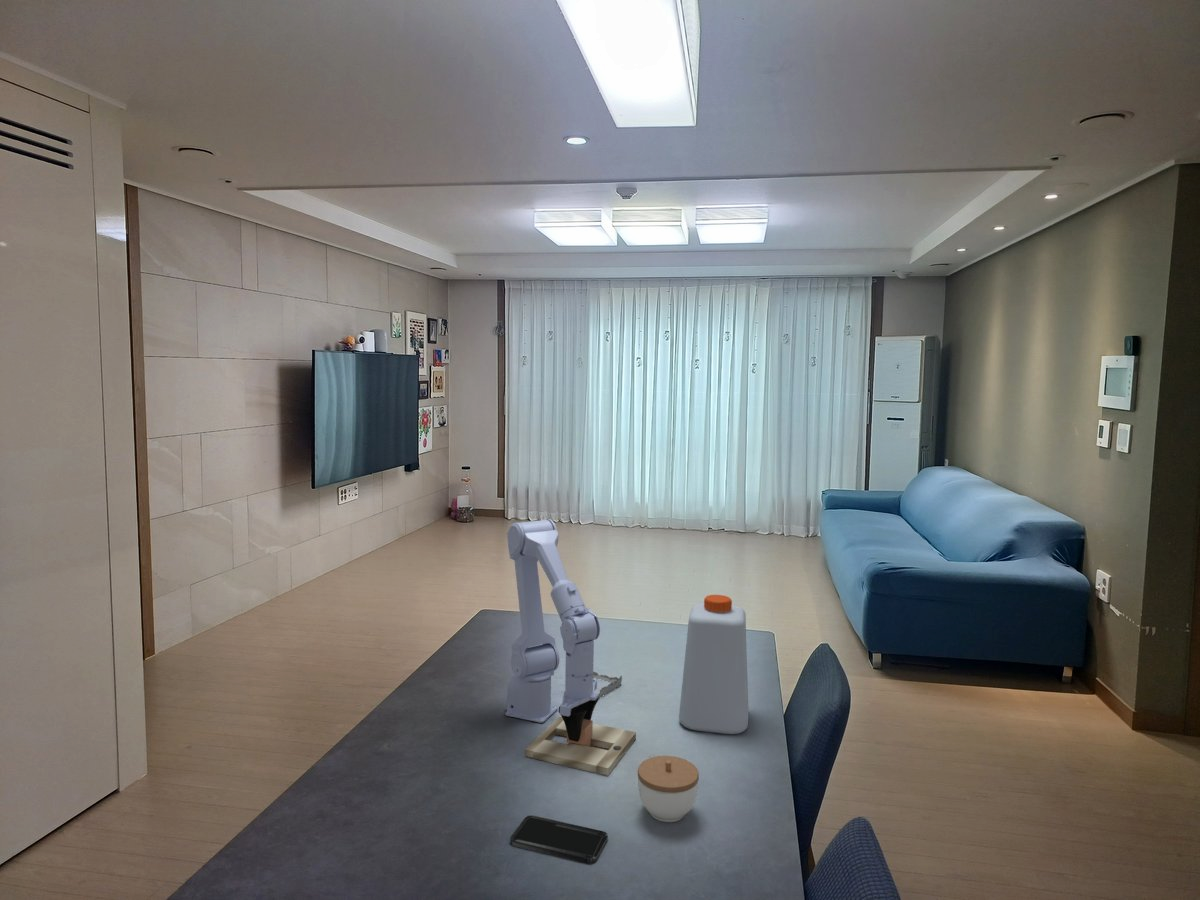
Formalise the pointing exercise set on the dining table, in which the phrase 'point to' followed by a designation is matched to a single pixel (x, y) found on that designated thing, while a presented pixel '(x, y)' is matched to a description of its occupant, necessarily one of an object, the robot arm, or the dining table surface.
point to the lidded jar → (667, 787)
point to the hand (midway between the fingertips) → (578, 735)
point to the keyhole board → (582, 748)
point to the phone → (559, 839)
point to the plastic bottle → (715, 668)
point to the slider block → (584, 733)
